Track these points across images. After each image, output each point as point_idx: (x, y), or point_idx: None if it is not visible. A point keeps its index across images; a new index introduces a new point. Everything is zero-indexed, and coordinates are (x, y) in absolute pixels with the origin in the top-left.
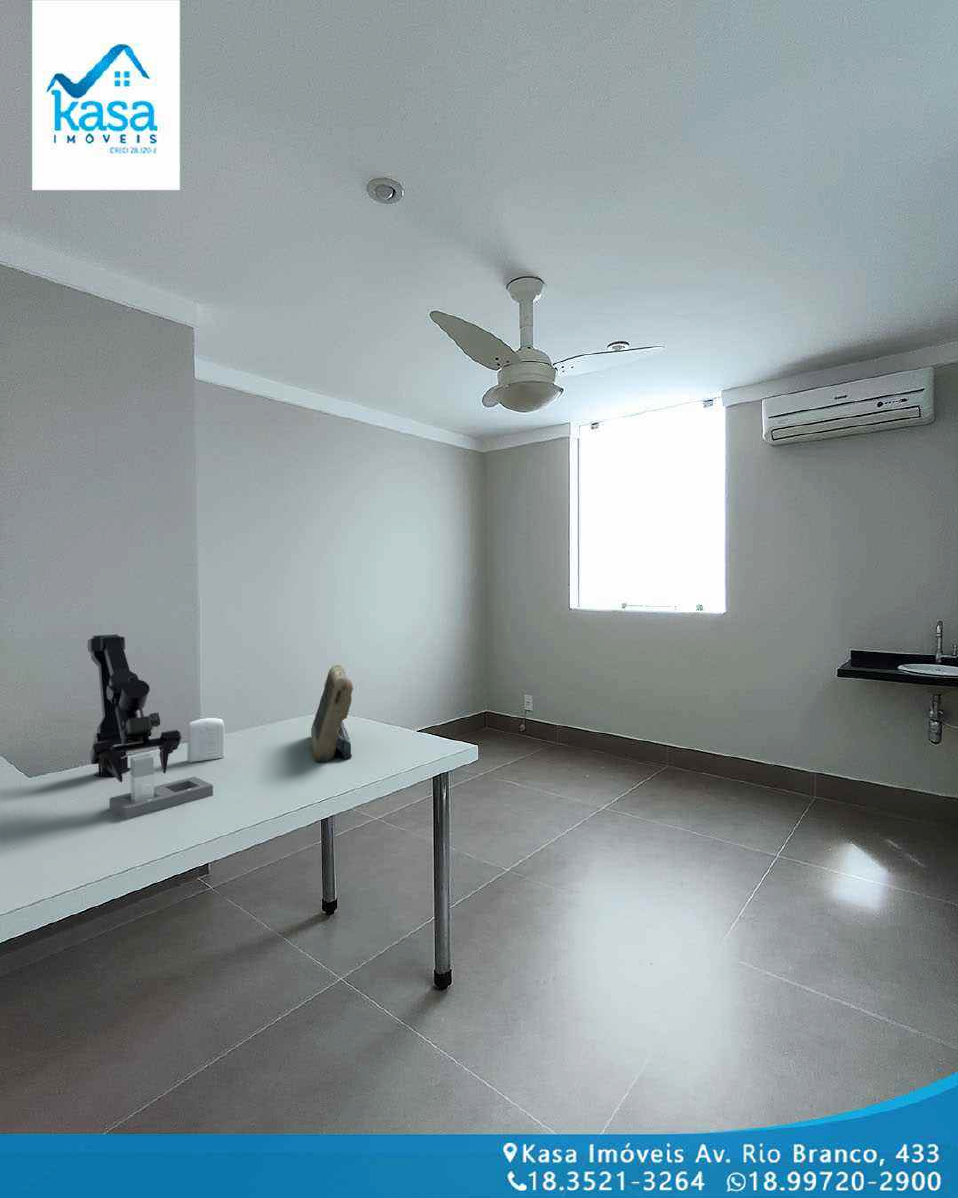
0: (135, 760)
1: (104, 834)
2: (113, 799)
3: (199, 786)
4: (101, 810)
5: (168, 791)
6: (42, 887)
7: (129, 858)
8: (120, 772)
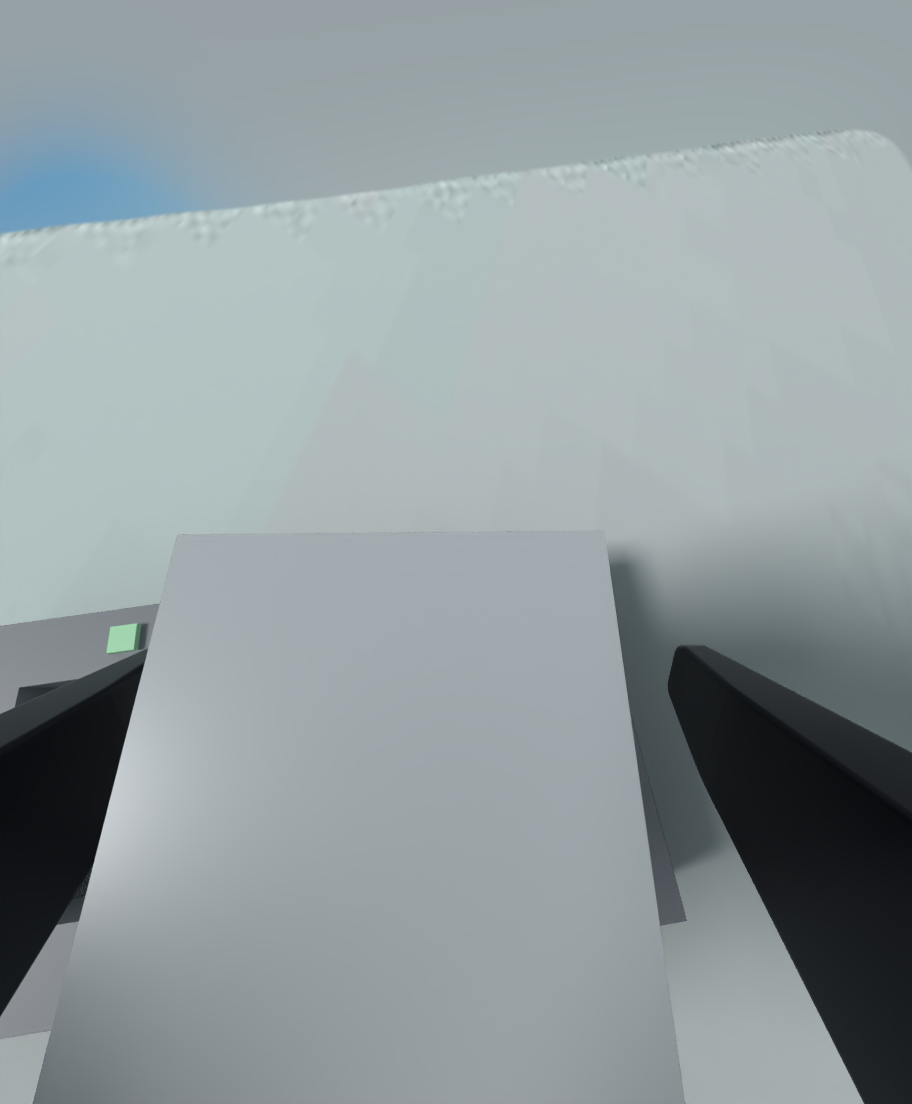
0: (579, 563)
1: (675, 444)
2: (653, 839)
3: (29, 670)
4: (701, 885)
5: None
6: (838, 182)
7: (598, 209)
8: (759, 698)
